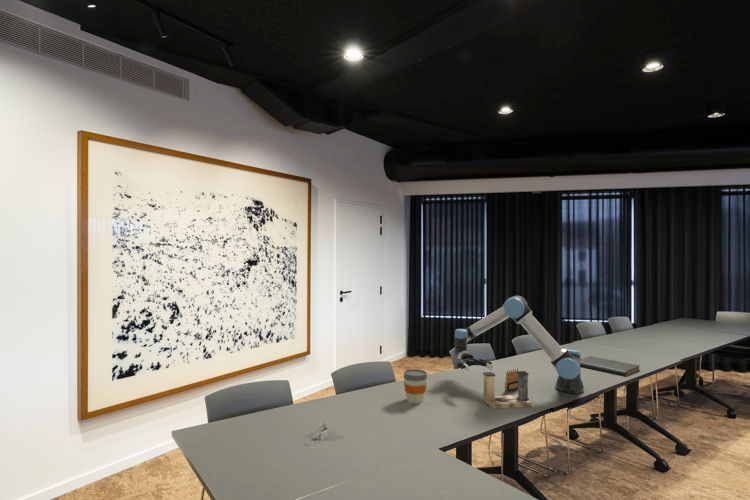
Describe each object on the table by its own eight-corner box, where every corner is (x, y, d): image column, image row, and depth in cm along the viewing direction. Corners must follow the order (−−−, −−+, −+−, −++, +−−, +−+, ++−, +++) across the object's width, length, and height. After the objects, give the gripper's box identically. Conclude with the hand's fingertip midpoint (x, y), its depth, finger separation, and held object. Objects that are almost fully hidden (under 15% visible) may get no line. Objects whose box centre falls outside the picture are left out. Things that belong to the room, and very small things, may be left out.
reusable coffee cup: (426, 405, 218) (426, 376, 218) (402, 403, 221) (402, 375, 221) (427, 397, 230) (427, 369, 231) (405, 395, 233) (405, 368, 233)
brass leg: (491, 398, 223) (491, 371, 223) (494, 401, 218) (495, 374, 218) (483, 398, 222) (483, 372, 222) (486, 401, 217) (486, 374, 217)
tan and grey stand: (522, 398, 229) (522, 368, 229) (534, 406, 217) (534, 375, 217) (484, 400, 226) (484, 370, 226) (493, 408, 214) (493, 376, 214)
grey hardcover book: (639, 364, 286) (625, 371, 271) (639, 370, 286) (625, 377, 271) (590, 355, 312) (574, 361, 297) (590, 361, 312) (574, 366, 297)
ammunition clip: (507, 392, 239) (507, 371, 239) (504, 391, 241) (504, 370, 241) (519, 389, 245) (519, 368, 245) (517, 388, 247) (517, 367, 247)
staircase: (322, 435, 183) (322, 422, 183) (329, 438, 180) (329, 425, 180) (311, 440, 178) (311, 427, 178) (318, 443, 175) (318, 430, 175)
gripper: (485, 364, 254) (501, 374, 233) (446, 365, 250) (458, 376, 229) (486, 352, 254) (501, 361, 233) (446, 352, 250) (458, 362, 229)
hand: (480, 368), depth 231 cm, fingers open, 13 cm apart
